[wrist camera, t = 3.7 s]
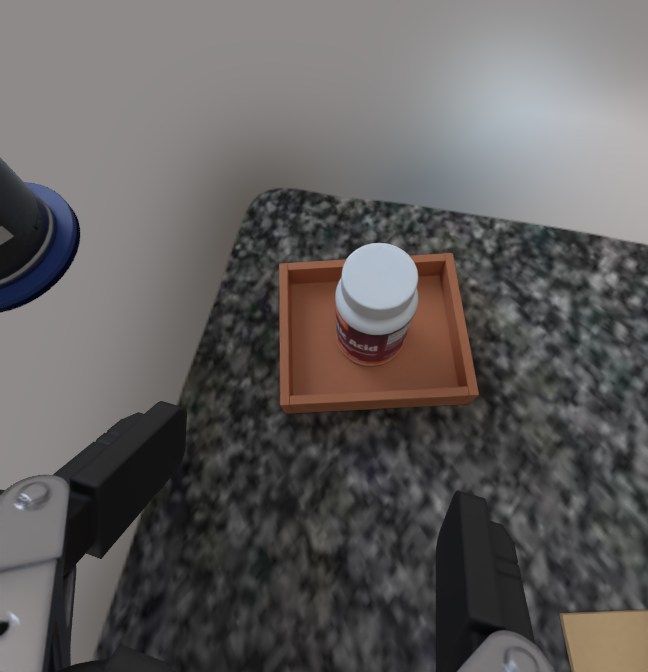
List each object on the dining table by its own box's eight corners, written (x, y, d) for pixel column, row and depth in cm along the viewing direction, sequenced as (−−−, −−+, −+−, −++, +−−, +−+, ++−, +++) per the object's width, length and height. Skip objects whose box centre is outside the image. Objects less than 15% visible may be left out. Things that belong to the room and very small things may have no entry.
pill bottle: (322, 338, 30) (314, 278, 22) (366, 293, 31) (374, 221, 24) (374, 382, 29) (385, 333, 21) (418, 333, 30) (444, 270, 22)
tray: (284, 413, 29) (279, 405, 26) (283, 280, 33) (279, 263, 30) (468, 404, 28) (479, 395, 26) (445, 270, 32) (452, 252, 30)
